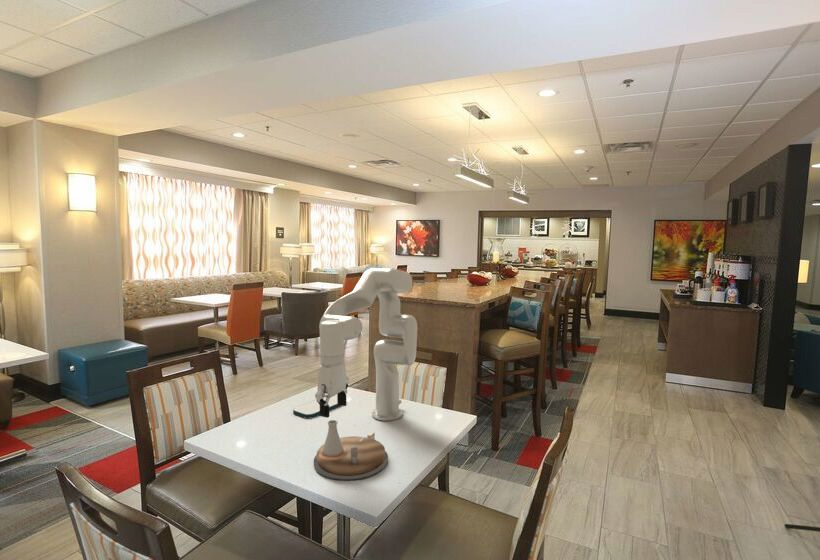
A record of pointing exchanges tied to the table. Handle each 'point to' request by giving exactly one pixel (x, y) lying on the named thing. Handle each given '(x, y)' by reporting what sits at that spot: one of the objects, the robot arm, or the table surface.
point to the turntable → (353, 456)
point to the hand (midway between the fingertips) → (333, 410)
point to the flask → (332, 441)
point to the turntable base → (352, 477)
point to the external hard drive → (314, 408)
